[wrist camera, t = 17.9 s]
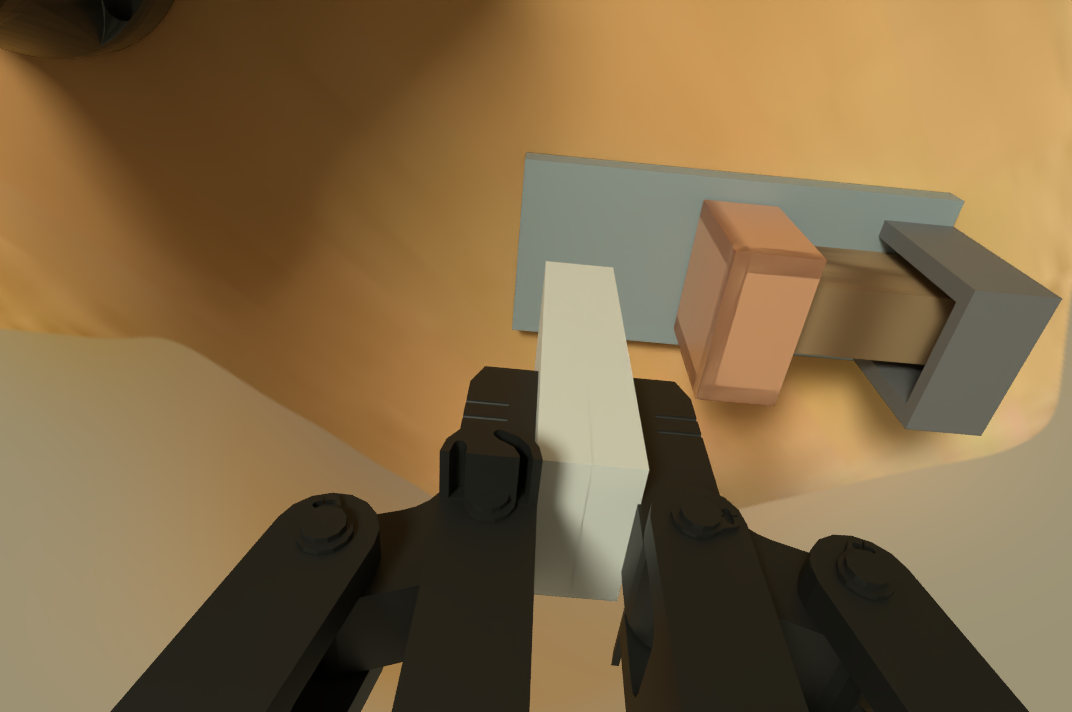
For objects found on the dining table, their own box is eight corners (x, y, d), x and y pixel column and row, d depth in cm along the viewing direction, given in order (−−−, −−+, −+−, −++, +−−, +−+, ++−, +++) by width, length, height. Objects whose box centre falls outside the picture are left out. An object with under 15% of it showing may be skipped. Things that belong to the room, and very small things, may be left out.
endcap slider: (673, 328, 40) (695, 398, 34) (703, 199, 36) (735, 251, 29) (740, 334, 40) (774, 406, 34) (778, 206, 36) (827, 260, 29)
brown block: (708, 298, 39) (730, 347, 34) (723, 237, 37) (749, 280, 32) (897, 315, 39) (947, 366, 34) (923, 256, 37) (981, 301, 32)
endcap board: (513, 318, 42) (500, 416, 33) (526, 152, 36) (515, 214, 27) (880, 352, 43) (968, 457, 33) (950, 193, 37) (1079, 268, 28)
